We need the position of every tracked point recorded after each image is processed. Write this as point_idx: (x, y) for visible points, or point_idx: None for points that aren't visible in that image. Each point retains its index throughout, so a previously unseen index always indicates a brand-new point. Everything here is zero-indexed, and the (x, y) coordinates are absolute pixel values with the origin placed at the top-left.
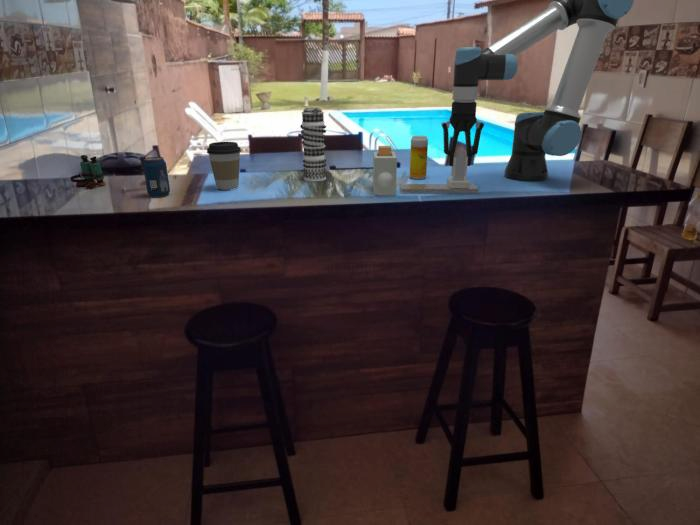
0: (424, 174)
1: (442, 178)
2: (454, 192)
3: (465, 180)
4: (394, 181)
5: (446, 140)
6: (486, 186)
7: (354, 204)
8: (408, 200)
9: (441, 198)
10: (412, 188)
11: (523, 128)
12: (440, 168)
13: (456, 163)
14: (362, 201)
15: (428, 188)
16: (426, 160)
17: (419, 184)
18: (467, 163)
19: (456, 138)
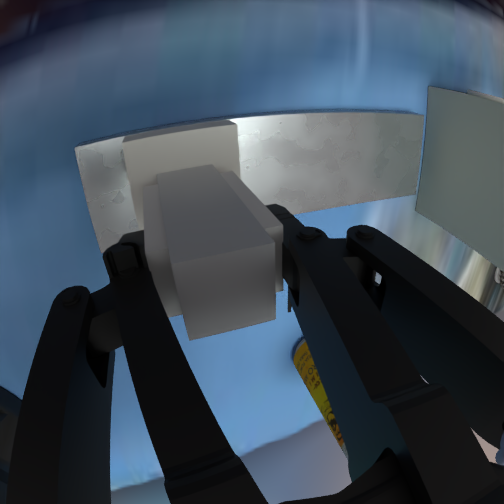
0: (306, 349)
1: (234, 363)
2: (201, 119)
3: (146, 182)
4: (472, 95)
5: (453, 297)
6: (53, 287)
7: (498, 16)
8: (398, 12)
9: (275, 21)
10: (391, 122)
11: None
12: (231, 445)
13: (237, 202)
14: (489, 37)
15: (333, 121)
16: (322, 393)
17: (356, 195)
18: (143, 239)
19: (373, 357)
